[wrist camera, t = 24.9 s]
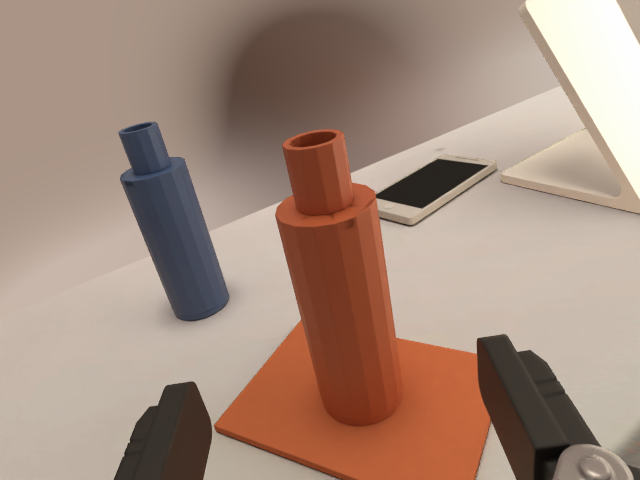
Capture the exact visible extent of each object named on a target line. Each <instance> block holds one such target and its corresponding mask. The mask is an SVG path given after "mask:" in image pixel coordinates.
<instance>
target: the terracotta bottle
mask: <svg viewBox="0 0 640 480" xmlns="http://www.w3.org/2000/svg"><path fill="white" fill-rule="evenodd" d="M282 147H283V152H284V156H285V160H286V165H287V169H288V173H289V178H290V182H291V187H292V191H293V195H292V196H290V197H288V198H286V199H285V200H284V201H283V202H282V203H281V204H280V205H279V206H278V207H277V210H276V214H275V216H276V220H277V224H278V228H279V232H280V236H281V240H282V244H283V248H284V252H285V256H286V260H287V264H288V268H289V272H290V276H291V280H292V284H293V288H294V292H295V296H296V300H297V304H298V308H299V312H300V316H301V320H302V324H303V328H304V331H305V335H306V339H307V343H308V347H309V351H310V355H311V359H312V363H313V367H314V371H315V375H316V379H317V383H318V387H319V391H320V395H321V398H322V400H323V404H324V407H325V409H326V410H327V412H328V413H329V414H330V415H331V416H332V417H333V418H334V419H336V420H337V421H339V422H342V423H344V424H348V425H353V426H365V425H371V424H375V423H377V422H380V421H382V420H384V419H386V418H387V417H389V416H390V415H391V414H392V413H393V412H394V411H395V410H396V409H397V408H398V406H399V405H400V402H401V400H402V396H403V385H402V378H401V371H400V364H399V357H398V349H397V342H396V335H395V328H394V321H393V314H392V307H391V299H390V292H389V285H388V278H387V271H386V264H385V256H384V249H383V242H382V235H381V228H380V221H379V214H378V206H377V199H376V194H375V191H374V190H372V189H371V188H369V187H367V186H365V185H361V184H356V183H352V181H351V175H350V169H349V163H348V156H347V150H346V145H345V138H344V133H343V132H341V131H339V130H330V129H324V130H317V131H310V132H306V133H303V134H299V135H296V136H294V137H292V138H290V139H288V140H286V141H285V142H284V144H283V145H282Z"/></svg>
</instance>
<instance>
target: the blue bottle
mask: <svg viewBox="0 0 640 480" xmlns="http://www.w3.org/2000/svg"><path fill="white" fill-rule="evenodd" d="M119 136H120V139H121V141H122V144H123V146H124V149H125V152H126V154H127V157H128V159H129V162H130V165H131V167H132V168H131V169H129V170H127V171H126V172H124V173H123V174H122V175H121V177H120V181H121V183H122V185H123V188H124V190H125V193H126V195H127V198H128V200H129V203H130V205H131V208H132V210H133V213H134V215H135V218H136V220H137V223H138V225H139V228H140V230H141V232H142V235H143V237H144V240H145V242H146V245H147V247H148V250H149V252H150V255H151V257H152V260H153V262H154V265H155V267H156V270H157V272H158V275H159V277H160V280H161V282H162V284H163V287H164V289H165V292H166V294H167V297H168V299H169V302H170V304H171V307H172V309H173V311H174V313H175V315H176V316H177V317H178V318H180V319H182V320H189V321H190V320H198V319H202V318H205V317H208V316H210V315H212V314H214V313H216V312H218V311H219V310H220V309H222V308H223V307H224V306H225V304H226V303H227V301H228V299H229V294H228V291H227V287H226V284H225V281H224V278H223V274H222V271H221V268H220V265H219V262H218V259H217V256H216V253H215V250H214V247H213V244H212V241H211V238H210V235H209V232H208V229H207V226H206V223H205V220H204V217H203V214H202V211H201V208H200V205H199V202H198V199H197V196H196V193H195V190H194V187H193V184H192V181H191V178H190V175H189V172H188V169H187V166H186V163H185V159H183V158H180V157H169V156H168V153H167V150H166V147H165V144H164V141H163V138H162V135H161V132H160V130H159V127H158V124H157V123H156V122H146V123H141V124H137V125H133V126H130V127H128V128H125V129H123V130H121V131H119Z"/></svg>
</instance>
